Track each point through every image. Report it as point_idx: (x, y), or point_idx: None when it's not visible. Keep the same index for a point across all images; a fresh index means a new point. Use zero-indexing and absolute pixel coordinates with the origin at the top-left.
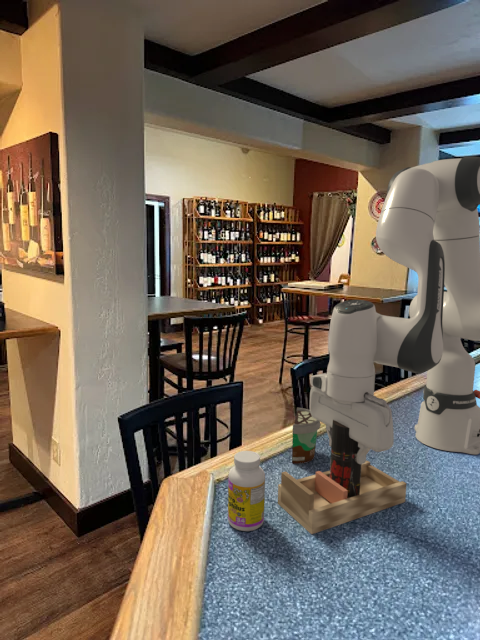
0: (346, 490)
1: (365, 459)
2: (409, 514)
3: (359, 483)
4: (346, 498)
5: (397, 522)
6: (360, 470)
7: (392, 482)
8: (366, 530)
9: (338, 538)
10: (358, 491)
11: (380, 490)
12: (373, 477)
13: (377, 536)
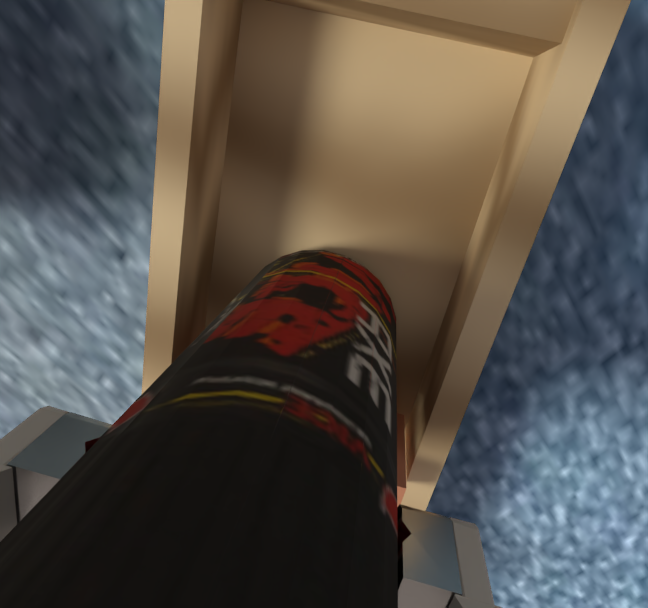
0: (401, 491)
1: (480, 552)
2: (640, 144)
3: (393, 351)
4: (403, 458)
5: (610, 266)
6: (391, 396)
7: (492, 31)
8: (519, 413)
9: (461, 513)
10: (395, 338)
11: (510, 268)
12: (307, 4)
13: (576, 417)
